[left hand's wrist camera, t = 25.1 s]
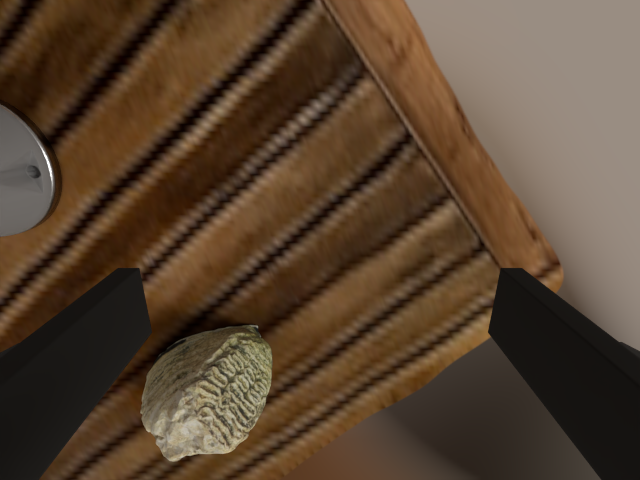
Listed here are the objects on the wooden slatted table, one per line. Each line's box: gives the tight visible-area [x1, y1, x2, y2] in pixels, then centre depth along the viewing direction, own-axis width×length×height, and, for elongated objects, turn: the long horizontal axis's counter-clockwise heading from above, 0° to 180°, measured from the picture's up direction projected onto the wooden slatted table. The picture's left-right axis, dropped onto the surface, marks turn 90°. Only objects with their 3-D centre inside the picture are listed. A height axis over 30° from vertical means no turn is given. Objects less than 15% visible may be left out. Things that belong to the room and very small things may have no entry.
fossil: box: [141, 325, 272, 461], centre depth 40 cm, size 9×18×15 cm, turn 124°
